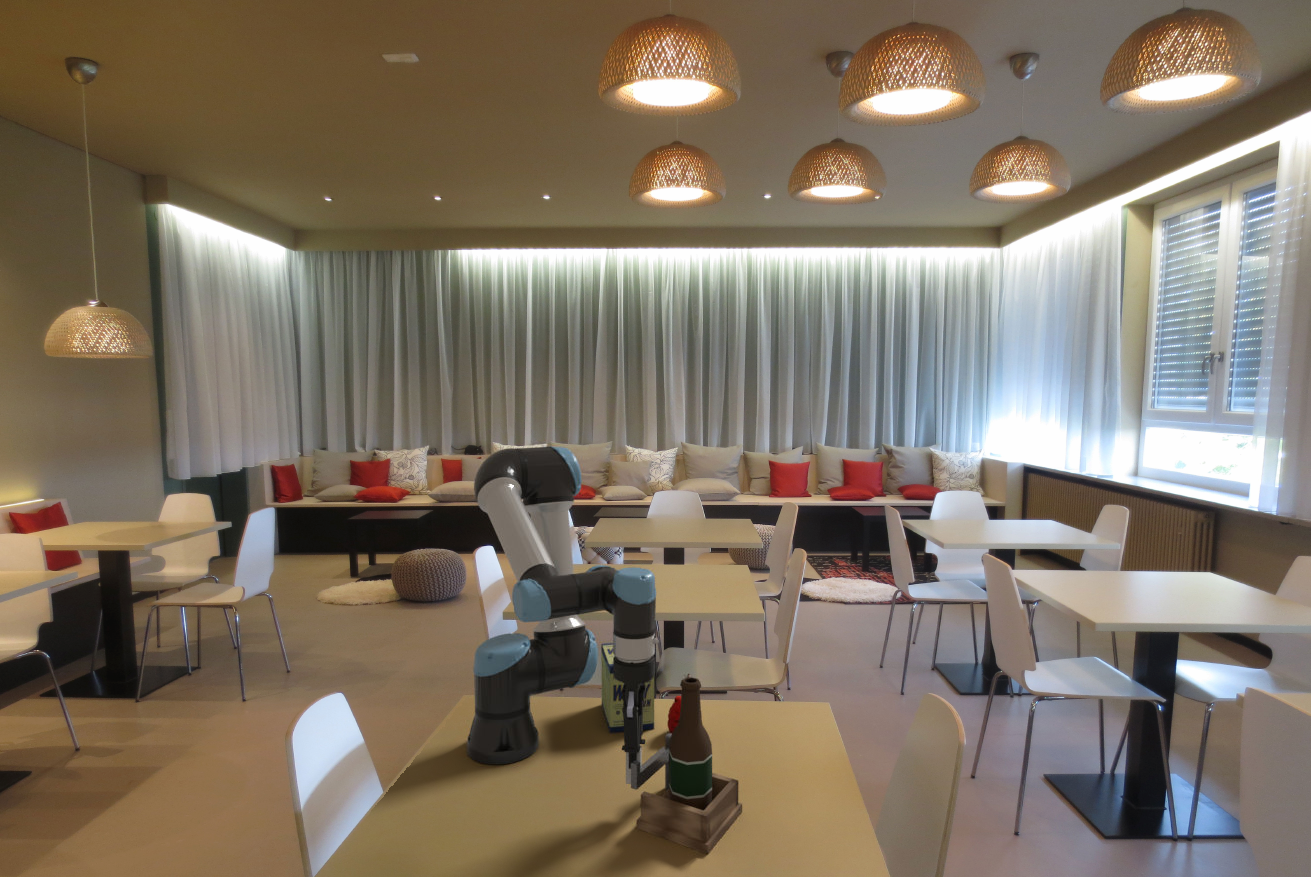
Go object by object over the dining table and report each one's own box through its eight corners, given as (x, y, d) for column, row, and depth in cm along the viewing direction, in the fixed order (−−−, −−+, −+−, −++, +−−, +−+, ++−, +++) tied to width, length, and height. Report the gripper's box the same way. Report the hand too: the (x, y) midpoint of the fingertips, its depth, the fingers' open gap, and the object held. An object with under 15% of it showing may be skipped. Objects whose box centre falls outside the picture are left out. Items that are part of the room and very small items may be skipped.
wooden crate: (626, 824, 127) (626, 767, 126) (668, 785, 140) (668, 732, 139) (708, 854, 119) (708, 792, 118) (744, 809, 131) (744, 753, 131)
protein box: (609, 734, 161) (609, 666, 160) (600, 704, 176) (600, 642, 175) (655, 729, 163) (655, 662, 162) (642, 701, 178) (642, 639, 177)
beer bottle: (709, 826, 124) (709, 690, 122) (664, 821, 125) (665, 687, 124) (714, 801, 131) (715, 673, 130) (672, 797, 133) (673, 670, 131)
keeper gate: (636, 789, 126) (636, 765, 126) (630, 788, 127) (630, 763, 126) (668, 761, 136) (668, 738, 136) (663, 759, 137) (663, 736, 136)
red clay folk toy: (698, 726, 164) (698, 662, 163) (704, 741, 157) (705, 674, 156) (665, 728, 163) (665, 664, 162) (670, 743, 156) (670, 676, 155)
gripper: (651, 670, 122) (650, 803, 124) (658, 643, 135) (657, 764, 137) (607, 668, 123) (607, 801, 125) (618, 642, 136) (618, 762, 137)
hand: (633, 781), depth 131 cm, fingers closed
